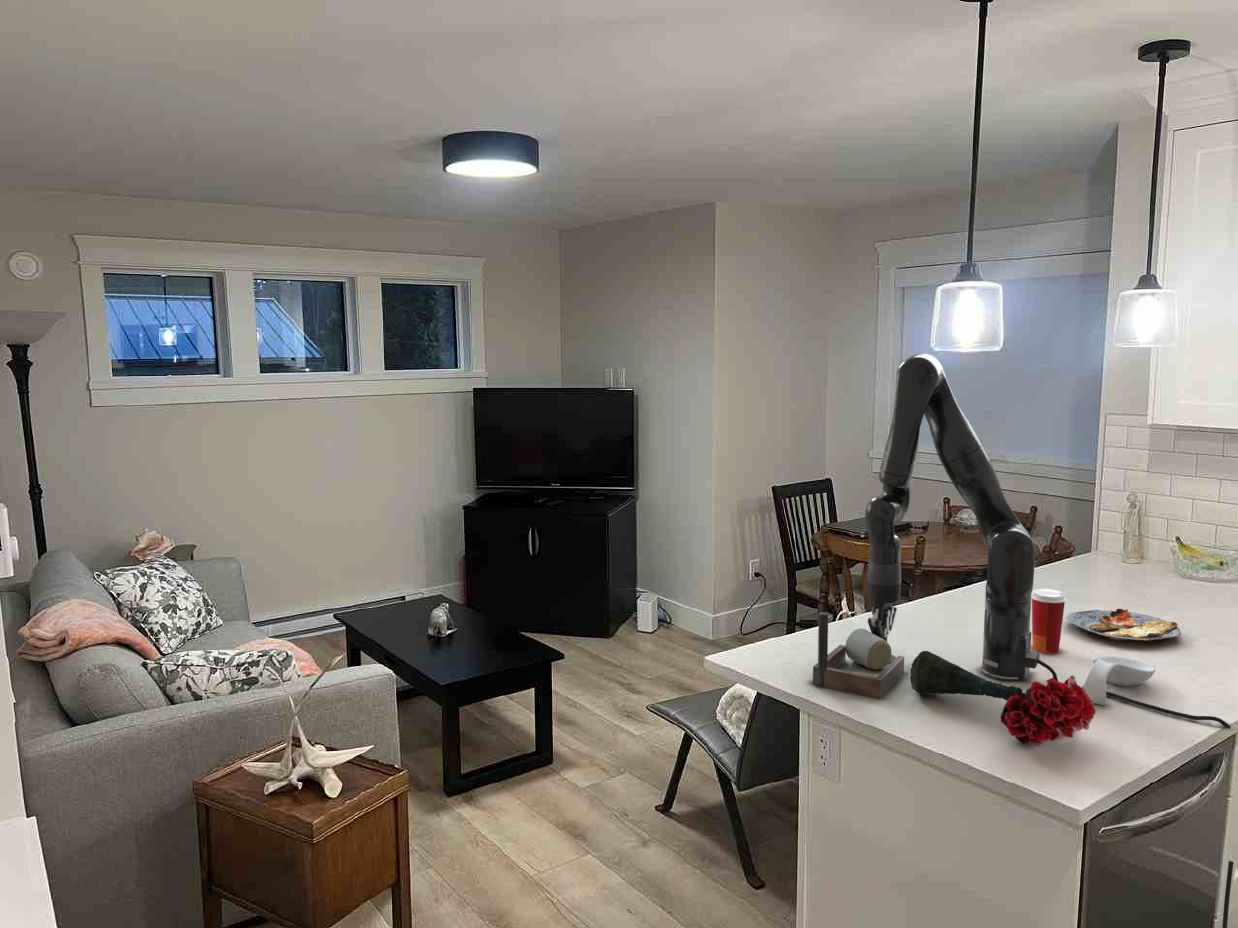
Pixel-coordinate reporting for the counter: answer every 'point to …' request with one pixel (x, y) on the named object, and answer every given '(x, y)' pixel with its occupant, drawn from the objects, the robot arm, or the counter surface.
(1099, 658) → the spoon rest
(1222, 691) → the counter surface
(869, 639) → the ceramic mug
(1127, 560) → the counter surface
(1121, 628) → the food plate
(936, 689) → the carnation
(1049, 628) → the paper cup
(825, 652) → the wooden post tray
